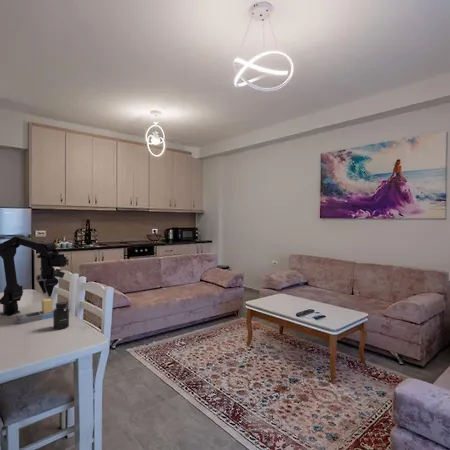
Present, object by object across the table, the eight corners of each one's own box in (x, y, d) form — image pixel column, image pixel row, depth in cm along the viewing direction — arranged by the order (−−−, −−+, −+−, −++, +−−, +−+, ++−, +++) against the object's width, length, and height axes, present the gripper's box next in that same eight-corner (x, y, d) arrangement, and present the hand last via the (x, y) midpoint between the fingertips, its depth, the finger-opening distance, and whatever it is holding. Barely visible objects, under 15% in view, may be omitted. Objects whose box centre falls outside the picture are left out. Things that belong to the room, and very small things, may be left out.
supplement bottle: (62, 330, 148) (62, 305, 148) (50, 329, 150) (49, 304, 149) (72, 325, 155) (72, 301, 155) (60, 324, 156) (60, 300, 156)
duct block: (20, 324, 156) (20, 319, 156) (17, 320, 162) (17, 315, 162) (62, 315, 170) (62, 310, 170) (57, 312, 176) (57, 307, 175)
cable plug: (44, 318, 166) (43, 301, 165) (42, 316, 168) (41, 299, 168) (52, 316, 168) (52, 300, 168) (50, 314, 171) (50, 298, 171)
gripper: (68, 266, 167) (69, 295, 167) (57, 262, 180) (57, 289, 180) (45, 269, 159) (46, 299, 159) (35, 264, 172) (36, 292, 172)
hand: (47, 294), depth 168 cm, fingers open, 9 cm apart
